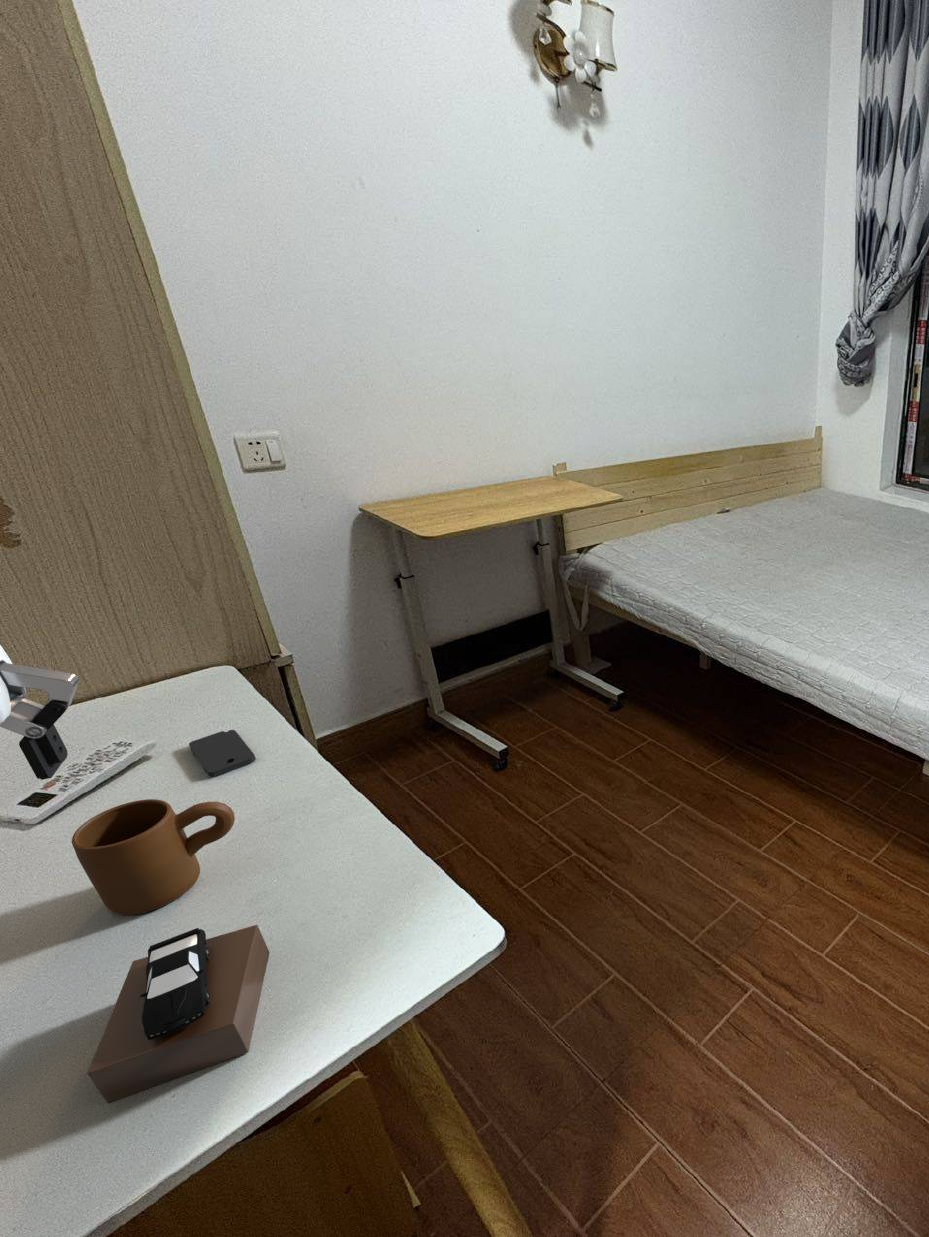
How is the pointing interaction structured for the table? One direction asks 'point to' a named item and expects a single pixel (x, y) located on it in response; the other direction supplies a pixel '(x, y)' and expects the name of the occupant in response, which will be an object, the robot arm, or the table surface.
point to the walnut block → (207, 1041)
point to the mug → (146, 852)
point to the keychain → (222, 752)
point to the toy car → (175, 984)
